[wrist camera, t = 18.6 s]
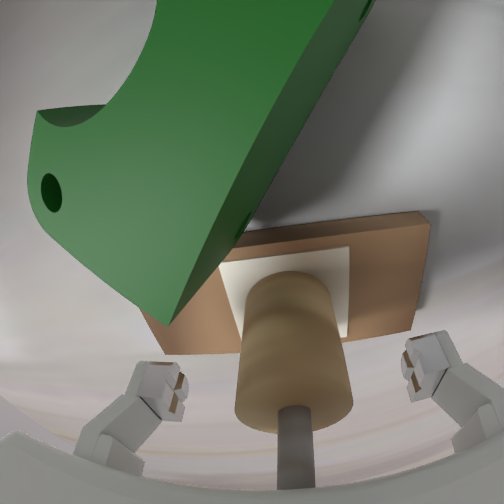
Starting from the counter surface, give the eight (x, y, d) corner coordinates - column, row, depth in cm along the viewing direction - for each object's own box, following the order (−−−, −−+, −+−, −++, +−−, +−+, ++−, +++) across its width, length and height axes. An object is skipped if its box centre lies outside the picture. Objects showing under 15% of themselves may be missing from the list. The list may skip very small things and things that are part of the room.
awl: (253, 338, 13) (239, 535, 5) (237, 276, 11) (201, 529, 4) (330, 330, 13) (358, 527, 5) (330, 265, 11) (383, 519, 3)
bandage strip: (170, 338, 16) (164, 356, 15) (128, 249, 13) (116, 265, 11) (403, 314, 14) (411, 331, 13) (418, 211, 11) (431, 224, 10)
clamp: (238, 9, 10) (203, -134, 1) (352, 56, 10) (414, -100, 1) (99, 215, 12) (-86, 211, 3) (209, 289, 11) (55, 429, 2)
